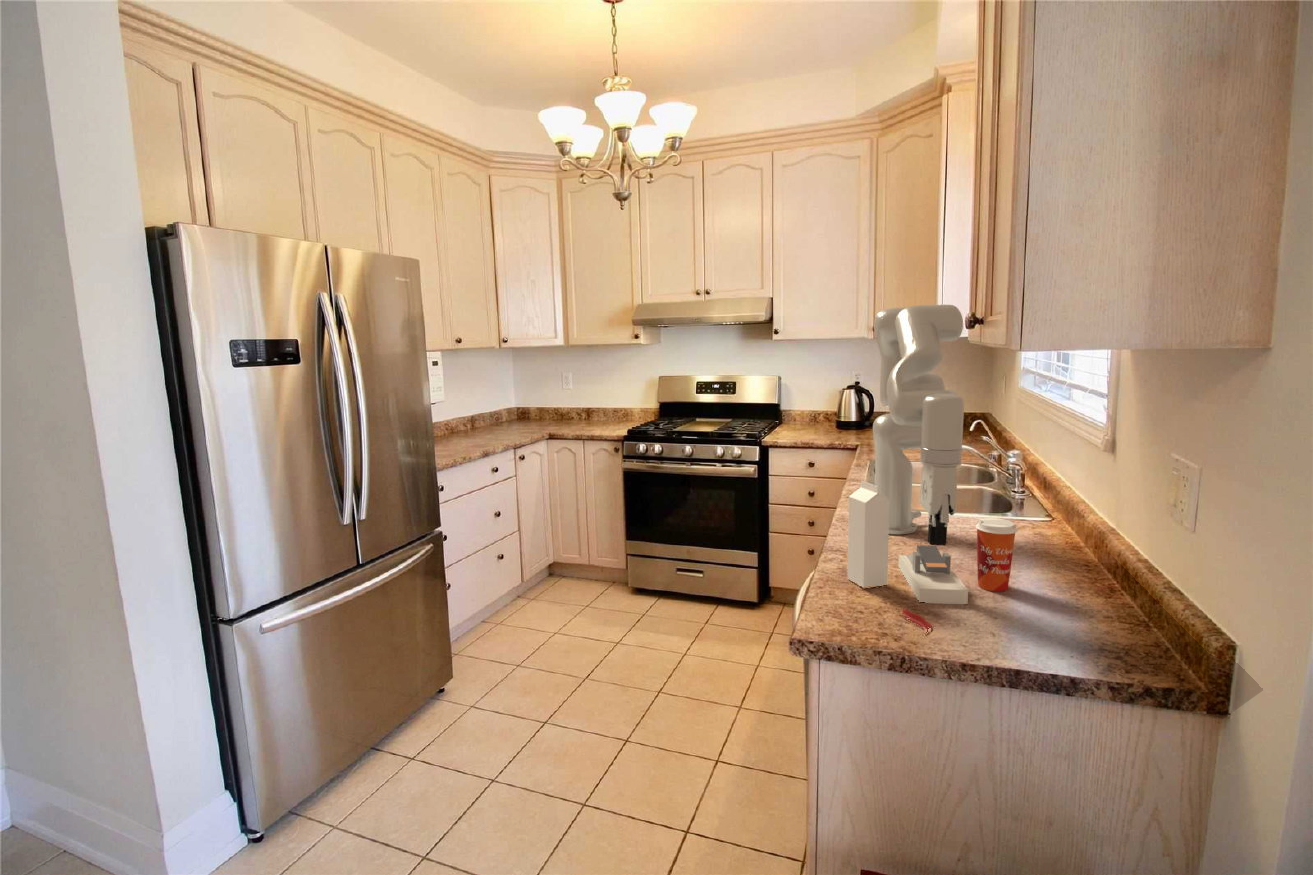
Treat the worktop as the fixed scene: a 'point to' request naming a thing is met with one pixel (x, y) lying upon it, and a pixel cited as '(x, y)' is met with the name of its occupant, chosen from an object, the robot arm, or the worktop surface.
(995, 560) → the paper cup
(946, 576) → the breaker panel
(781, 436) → the worktop surface
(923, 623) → the cayenne pepper
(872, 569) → the milk
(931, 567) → the breaker paddle
